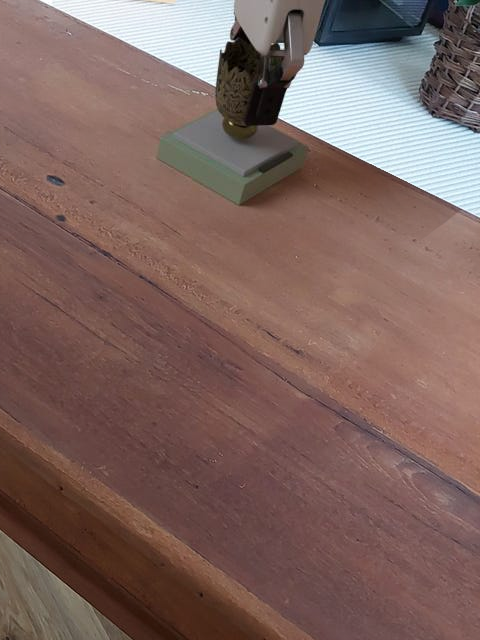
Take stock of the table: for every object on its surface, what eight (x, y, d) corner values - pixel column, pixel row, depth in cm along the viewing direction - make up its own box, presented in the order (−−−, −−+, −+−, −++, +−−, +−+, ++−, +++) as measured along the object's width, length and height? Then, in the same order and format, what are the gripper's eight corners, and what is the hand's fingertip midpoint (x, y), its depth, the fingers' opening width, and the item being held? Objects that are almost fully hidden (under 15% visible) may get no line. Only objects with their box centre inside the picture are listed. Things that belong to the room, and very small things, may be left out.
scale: (302, 167, 94) (311, 141, 92) (238, 205, 89) (246, 178, 87) (220, 124, 99) (227, 98, 97) (156, 158, 94) (161, 131, 92)
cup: (222, 105, 94) (241, 29, 88) (286, 129, 92) (310, 52, 86) (189, 134, 91) (207, 55, 84) (255, 160, 88) (278, 81, 82)
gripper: (383, -57, 70) (311, 149, 84) (309, -133, 81) (257, 60, 95) (292, -57, 69) (235, 150, 83) (230, -135, 80) (188, 61, 94)
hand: (247, 101), depth 89 cm, fingers closed on cup, 7 cm apart
